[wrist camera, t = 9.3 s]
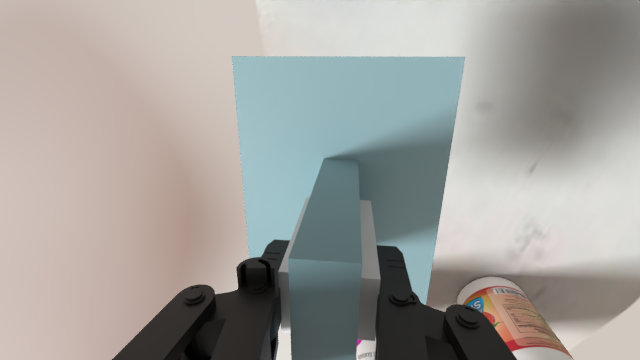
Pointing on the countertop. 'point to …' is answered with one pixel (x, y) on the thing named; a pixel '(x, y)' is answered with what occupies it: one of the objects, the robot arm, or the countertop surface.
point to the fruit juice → (514, 319)
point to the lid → (343, 175)
